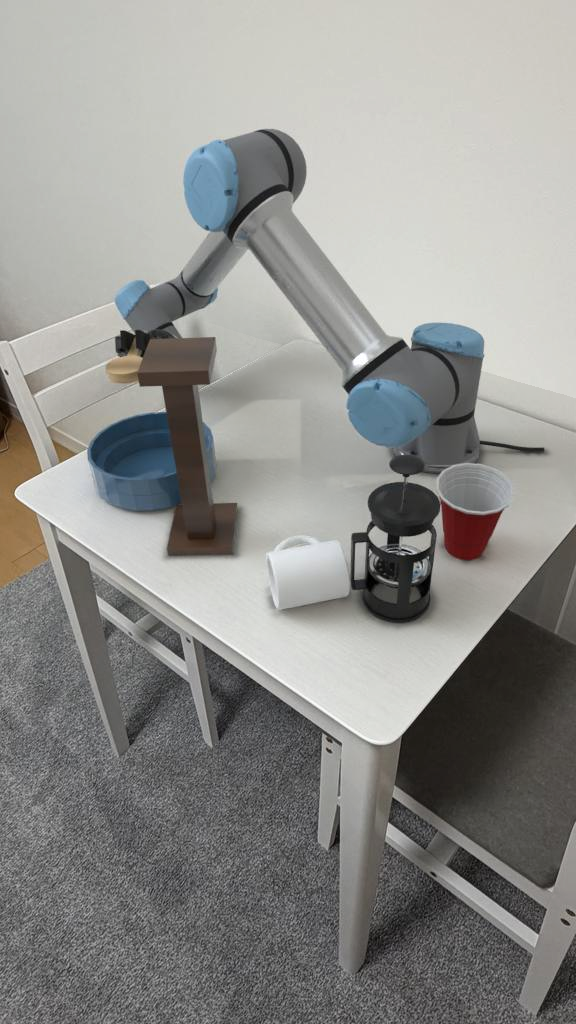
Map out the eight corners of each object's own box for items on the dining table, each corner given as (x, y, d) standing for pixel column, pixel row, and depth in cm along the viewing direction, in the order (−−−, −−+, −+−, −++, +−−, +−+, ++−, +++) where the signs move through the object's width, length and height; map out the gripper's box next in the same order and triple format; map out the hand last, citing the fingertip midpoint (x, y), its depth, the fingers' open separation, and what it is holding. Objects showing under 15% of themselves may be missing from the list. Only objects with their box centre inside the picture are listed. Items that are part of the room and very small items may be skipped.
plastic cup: (435, 575, 99) (443, 510, 91) (422, 527, 107) (429, 464, 100) (510, 572, 99) (525, 507, 91) (492, 524, 107) (504, 461, 100)
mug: (350, 608, 94) (351, 565, 89) (279, 622, 93) (276, 579, 88) (326, 552, 104) (326, 511, 99) (262, 564, 102) (258, 523, 97)
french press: (427, 572, 99) (443, 438, 85) (441, 620, 92) (462, 482, 78) (346, 577, 99) (349, 443, 85) (354, 626, 92) (358, 488, 78)
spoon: (125, 336, 113) (123, 327, 112) (161, 335, 113) (159, 326, 112) (103, 384, 101) (101, 374, 100) (144, 383, 100) (142, 373, 99)
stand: (177, 511, 113) (147, 337, 94) (237, 509, 113) (219, 335, 94) (167, 556, 104) (132, 374, 85) (233, 554, 104) (211, 372, 85)
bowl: (221, 442, 129) (217, 410, 125) (210, 512, 112) (206, 478, 108) (110, 446, 130) (102, 413, 125) (83, 515, 113) (73, 481, 109)
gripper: (201, 371, 128) (179, 362, 105) (124, 373, 129) (84, 365, 106) (200, 330, 127) (176, 312, 104) (121, 332, 128) (81, 315, 104)
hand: (130, 339), depth 105 cm, fingers closed on spoon, 2 cm apart
